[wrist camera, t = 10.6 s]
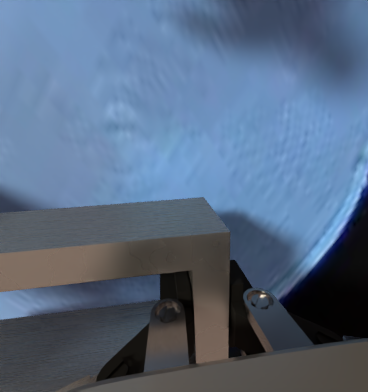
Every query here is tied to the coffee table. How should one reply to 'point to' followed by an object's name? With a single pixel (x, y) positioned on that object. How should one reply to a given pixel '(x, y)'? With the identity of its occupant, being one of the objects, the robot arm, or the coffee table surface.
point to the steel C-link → (105, 270)
